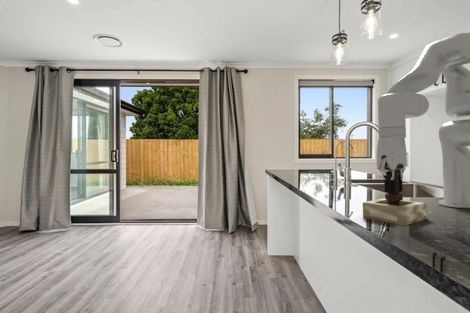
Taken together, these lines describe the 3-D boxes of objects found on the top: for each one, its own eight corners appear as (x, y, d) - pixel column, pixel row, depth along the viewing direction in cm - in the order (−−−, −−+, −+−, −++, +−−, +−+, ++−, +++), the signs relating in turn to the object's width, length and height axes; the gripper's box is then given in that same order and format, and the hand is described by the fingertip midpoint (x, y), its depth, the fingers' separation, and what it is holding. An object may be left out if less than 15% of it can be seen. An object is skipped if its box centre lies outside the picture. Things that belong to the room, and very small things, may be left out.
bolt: (406, 213, 86) (405, 163, 86) (388, 212, 87) (387, 164, 87) (399, 209, 92) (398, 163, 92) (382, 209, 93) (381, 163, 93)
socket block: (384, 212, 99) (384, 197, 99) (426, 218, 88) (426, 202, 88) (363, 218, 92) (362, 202, 91) (405, 225, 81) (405, 208, 81)
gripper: (393, 134, 97) (395, 188, 97) (365, 134, 88) (367, 193, 88) (417, 133, 91) (418, 190, 91) (390, 132, 82) (391, 196, 82)
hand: (393, 191), depth 90 cm, fingers closed on bolt, 3 cm apart
